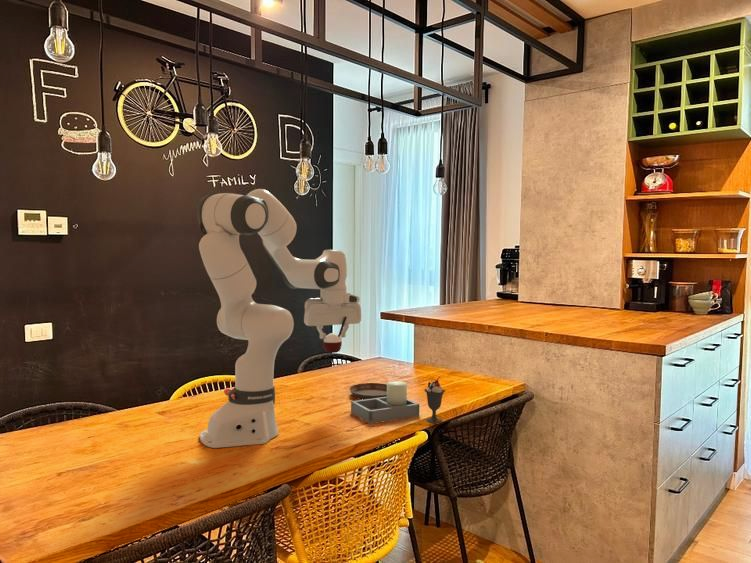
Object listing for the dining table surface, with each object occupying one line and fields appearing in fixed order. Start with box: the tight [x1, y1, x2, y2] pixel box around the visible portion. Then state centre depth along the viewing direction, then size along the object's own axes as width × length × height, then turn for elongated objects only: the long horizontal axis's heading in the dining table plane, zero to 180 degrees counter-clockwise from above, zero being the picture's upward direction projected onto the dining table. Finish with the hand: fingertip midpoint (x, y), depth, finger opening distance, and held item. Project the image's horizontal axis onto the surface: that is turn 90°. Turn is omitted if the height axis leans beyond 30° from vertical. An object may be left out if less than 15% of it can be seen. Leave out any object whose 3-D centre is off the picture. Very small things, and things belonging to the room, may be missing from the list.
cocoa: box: [319, 317, 347, 354], centre depth 191 cm, size 10×6×12 cm, turn 56°
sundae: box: [424, 376, 446, 424], centre depth 182 cm, size 7×7×15 cm
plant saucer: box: [348, 382, 387, 400], centre depth 212 cm, size 18×18×3 cm
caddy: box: [350, 380, 420, 425], centre depth 188 cm, size 19×13×10 cm
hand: (332, 337), depth 191 cm, fingers closed on cocoa, 6 cm apart
